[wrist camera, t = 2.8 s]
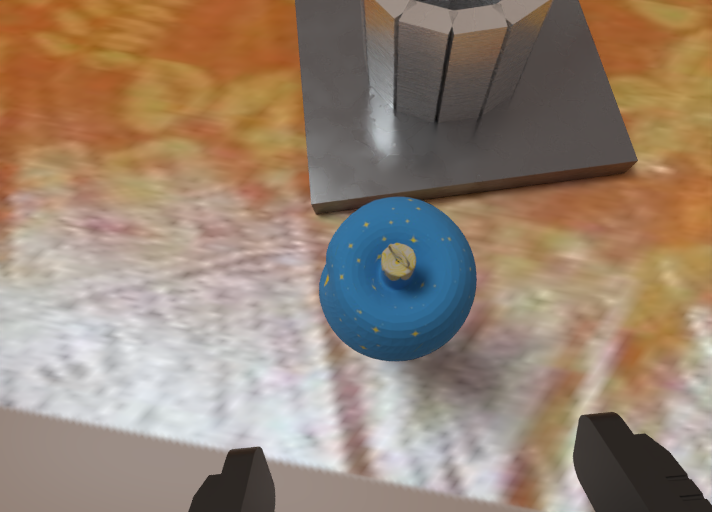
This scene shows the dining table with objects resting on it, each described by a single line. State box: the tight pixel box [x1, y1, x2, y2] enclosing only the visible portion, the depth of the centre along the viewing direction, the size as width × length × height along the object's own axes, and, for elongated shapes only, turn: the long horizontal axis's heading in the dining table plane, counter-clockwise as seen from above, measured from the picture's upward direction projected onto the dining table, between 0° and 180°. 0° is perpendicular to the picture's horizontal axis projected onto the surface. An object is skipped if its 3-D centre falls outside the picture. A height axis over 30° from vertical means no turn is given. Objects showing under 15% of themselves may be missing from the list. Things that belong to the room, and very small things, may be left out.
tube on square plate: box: [295, 0, 638, 214], centre depth 26 cm, size 20×20×8 cm
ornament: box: [319, 197, 477, 361], centre depth 17 cm, size 5×5×15 cm
